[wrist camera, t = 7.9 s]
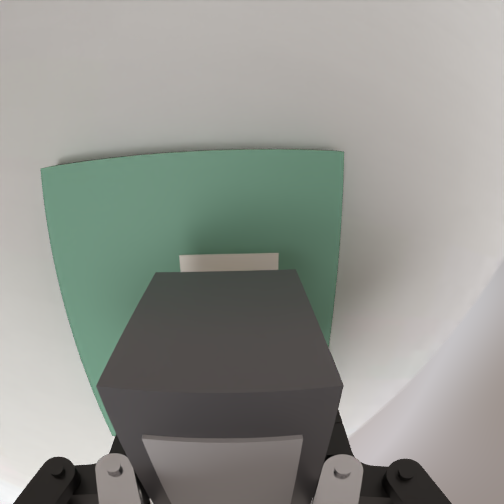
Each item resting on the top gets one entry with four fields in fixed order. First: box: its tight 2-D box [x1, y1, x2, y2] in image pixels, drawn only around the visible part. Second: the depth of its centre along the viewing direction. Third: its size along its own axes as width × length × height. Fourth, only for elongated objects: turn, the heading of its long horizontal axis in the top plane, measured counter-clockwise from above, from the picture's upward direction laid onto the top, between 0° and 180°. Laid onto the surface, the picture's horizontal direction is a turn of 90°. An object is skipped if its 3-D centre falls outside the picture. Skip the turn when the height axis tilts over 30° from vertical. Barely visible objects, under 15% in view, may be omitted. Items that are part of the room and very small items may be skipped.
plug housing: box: [96, 269, 343, 504], centre depth 10 cm, size 10×5×6 cm, turn 1°
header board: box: [41, 149, 344, 436], centre depth 15 cm, size 18×14×6 cm
